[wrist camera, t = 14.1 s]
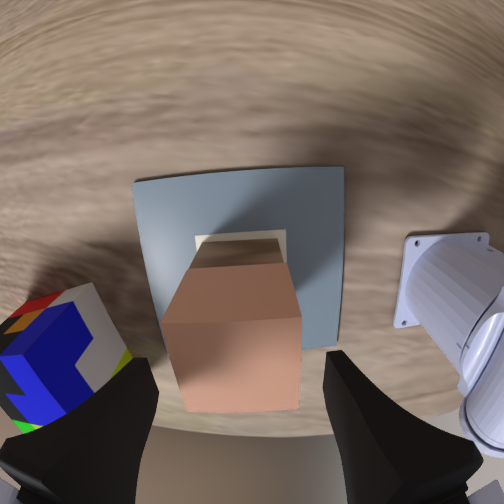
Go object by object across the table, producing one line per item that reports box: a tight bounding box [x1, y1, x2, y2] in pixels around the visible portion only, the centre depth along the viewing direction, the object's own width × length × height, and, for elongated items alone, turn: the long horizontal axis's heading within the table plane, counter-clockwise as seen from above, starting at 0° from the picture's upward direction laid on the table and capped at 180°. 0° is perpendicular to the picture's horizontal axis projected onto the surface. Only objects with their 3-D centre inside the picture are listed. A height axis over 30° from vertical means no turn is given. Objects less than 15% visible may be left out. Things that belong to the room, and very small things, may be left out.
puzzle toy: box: [0, 282, 133, 434], centre depth 19 cm, size 10×10×10 cm
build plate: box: [131, 166, 344, 354], centre depth 20 cm, size 14×14×1 cm
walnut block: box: [189, 238, 284, 269], centre depth 18 cm, size 5×5×5 cm
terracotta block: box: [160, 263, 302, 412], centre depth 13 cm, size 5×5×5 cm
